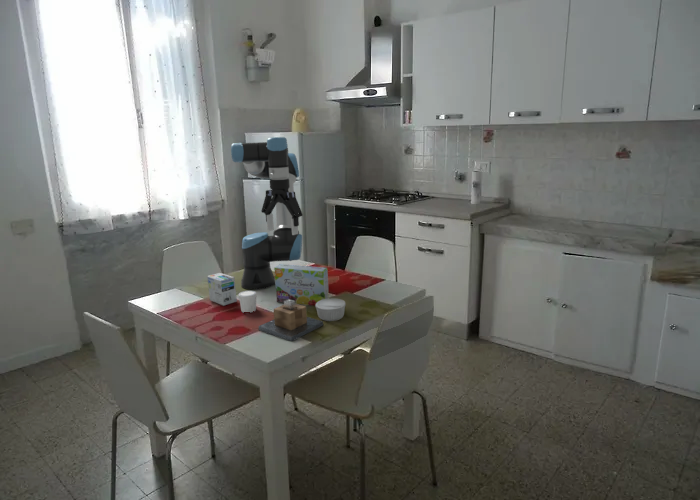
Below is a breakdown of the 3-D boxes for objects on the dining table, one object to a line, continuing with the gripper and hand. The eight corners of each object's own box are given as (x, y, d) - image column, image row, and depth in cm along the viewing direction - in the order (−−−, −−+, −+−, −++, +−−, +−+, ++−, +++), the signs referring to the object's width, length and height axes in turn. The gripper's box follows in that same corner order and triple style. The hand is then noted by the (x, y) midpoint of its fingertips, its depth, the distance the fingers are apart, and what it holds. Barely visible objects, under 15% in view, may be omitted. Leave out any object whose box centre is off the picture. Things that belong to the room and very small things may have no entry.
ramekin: (322, 324, 171) (321, 310, 170) (311, 314, 181) (311, 301, 180) (350, 319, 175) (350, 305, 174) (339, 309, 185) (338, 296, 184)
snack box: (275, 302, 194) (273, 267, 190) (282, 298, 199) (279, 263, 196) (324, 307, 188) (323, 270, 184) (329, 302, 193) (328, 266, 189)
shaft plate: (258, 330, 168) (256, 303, 165) (290, 315, 180) (289, 290, 177) (291, 341, 158) (290, 313, 156) (323, 325, 170) (322, 298, 168)
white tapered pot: (242, 314, 182) (240, 297, 181) (237, 309, 188) (236, 292, 186) (259, 311, 185) (258, 294, 184) (254, 305, 191) (253, 289, 189)
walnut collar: (274, 324, 168) (273, 308, 166) (290, 317, 174) (289, 302, 173) (291, 330, 163) (290, 313, 162) (307, 322, 169) (306, 306, 168)
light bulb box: (237, 301, 196) (235, 276, 194) (223, 306, 192) (220, 280, 189) (223, 296, 204) (220, 271, 201) (209, 300, 199) (206, 275, 196)
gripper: (250, 178, 188) (254, 230, 193) (296, 181, 173) (299, 238, 179) (264, 176, 194) (267, 227, 199) (310, 178, 179) (312, 234, 184)
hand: (282, 232), depth 189 cm, fingers open, 13 cm apart
